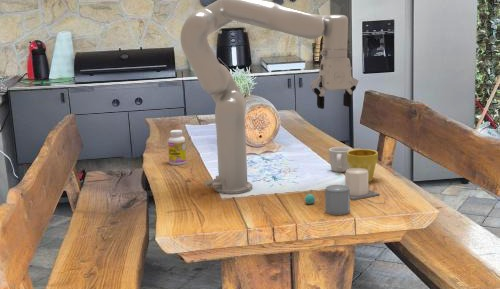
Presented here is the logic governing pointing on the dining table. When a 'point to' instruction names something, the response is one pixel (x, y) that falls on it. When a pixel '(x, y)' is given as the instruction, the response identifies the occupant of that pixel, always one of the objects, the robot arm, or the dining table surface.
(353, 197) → the coaster
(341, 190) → the beaker
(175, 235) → the dining table surface
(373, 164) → the plant pot
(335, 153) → the cup
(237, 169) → the robot arm
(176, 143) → the supplement bottle
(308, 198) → the ball
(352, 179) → the beaker
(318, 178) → the dining table surface
